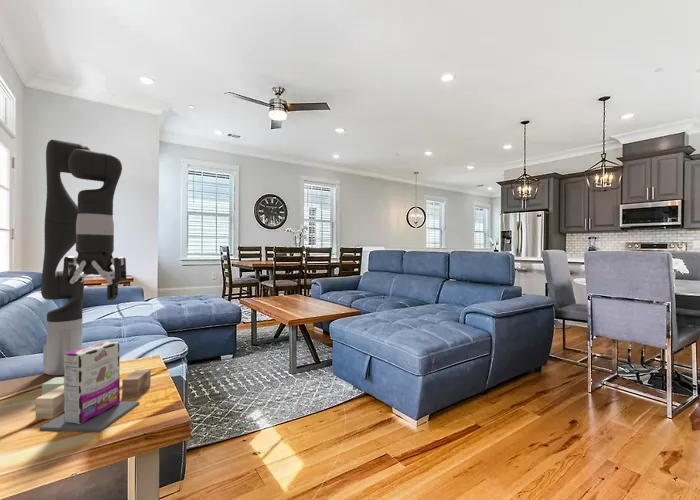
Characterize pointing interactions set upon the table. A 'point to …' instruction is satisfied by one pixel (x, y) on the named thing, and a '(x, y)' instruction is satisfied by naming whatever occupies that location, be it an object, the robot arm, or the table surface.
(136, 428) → the table surface
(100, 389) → the candy bar box
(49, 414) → the beech block
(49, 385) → the sage cube
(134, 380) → the walnut block
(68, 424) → the mat
